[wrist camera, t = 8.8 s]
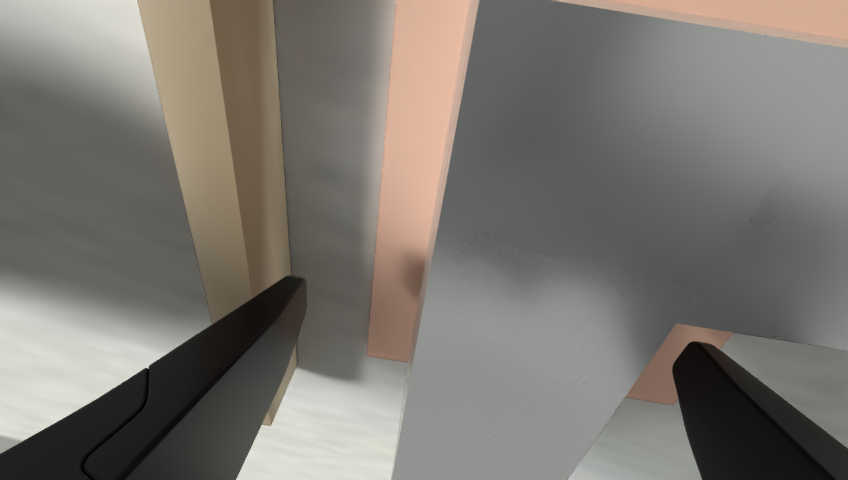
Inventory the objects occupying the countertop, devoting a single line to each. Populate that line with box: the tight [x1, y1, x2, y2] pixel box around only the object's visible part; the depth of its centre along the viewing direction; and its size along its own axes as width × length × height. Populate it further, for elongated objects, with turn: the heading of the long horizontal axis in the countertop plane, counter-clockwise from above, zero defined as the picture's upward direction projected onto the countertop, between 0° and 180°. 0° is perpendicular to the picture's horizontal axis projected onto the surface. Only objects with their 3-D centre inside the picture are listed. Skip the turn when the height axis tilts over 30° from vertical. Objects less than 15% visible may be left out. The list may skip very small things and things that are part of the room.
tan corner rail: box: [137, 0, 297, 426], centre depth 9 cm, size 15×18×2 cm
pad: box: [367, 0, 848, 405], centre depth 11 cm, size 11×13×1 cm
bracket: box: [391, 0, 848, 480], centre depth 8 cm, size 10×8×5 cm
